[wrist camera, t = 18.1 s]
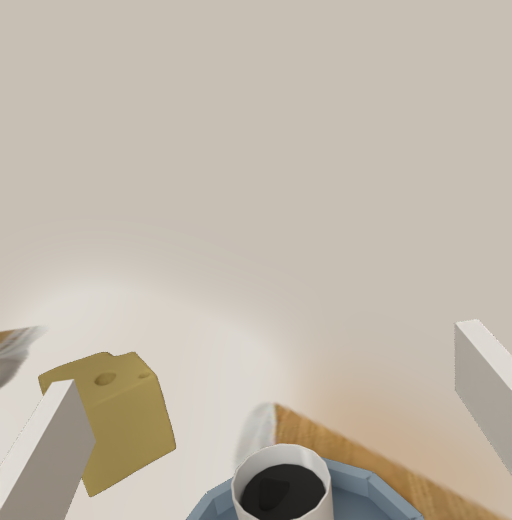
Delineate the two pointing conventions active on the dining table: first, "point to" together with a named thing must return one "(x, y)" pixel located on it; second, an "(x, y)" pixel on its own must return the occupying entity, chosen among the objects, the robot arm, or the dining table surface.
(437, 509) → the dining table surface
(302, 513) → the white coffee cup
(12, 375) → the dining table surface
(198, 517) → the blue round tray
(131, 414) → the cheese
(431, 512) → the dining table surface
